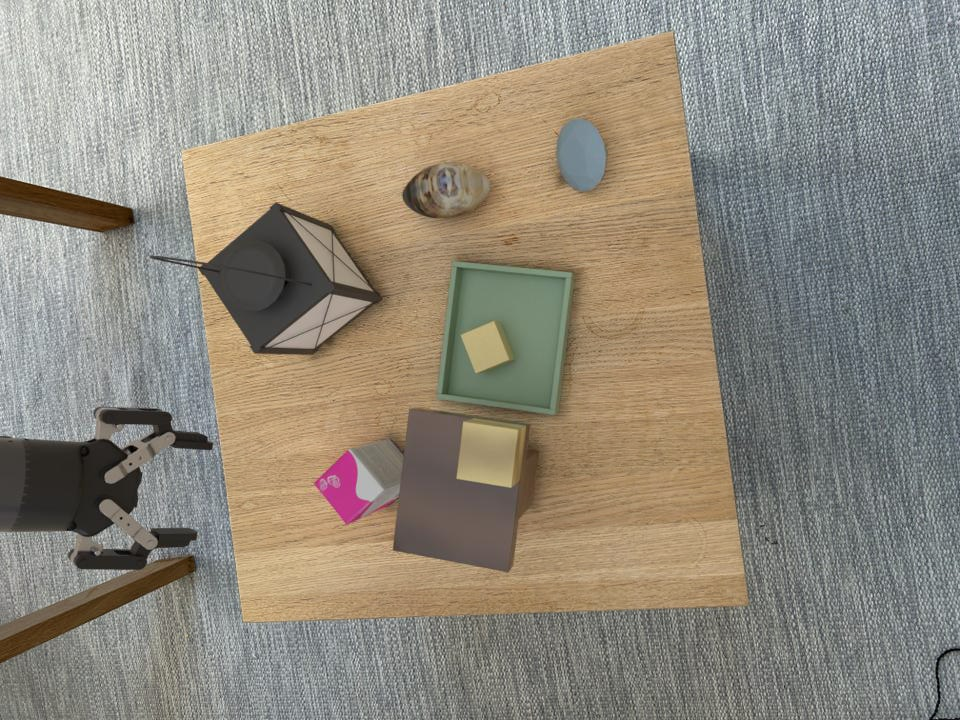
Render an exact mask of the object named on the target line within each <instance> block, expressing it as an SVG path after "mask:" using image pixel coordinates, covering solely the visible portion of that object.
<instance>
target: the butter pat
mask: <svg viewBox="0 0 960 720" xmlns="http://www.w3.org/2000/svg"><path fill="white" fill-rule="evenodd" d="M461 338H462V340H463V343H464V345H465V348H466V350H467V353H468V356H469V358H470V361H471V363H472V366H473V368H474V371H475V373H476V374H477V373H485V372H487V371H490V370H492V369H494V368H497V367H499V366H502V365H504V364H507V363H509V362H511V361H514V360H515V357H514V355H513V352H512V350H511V347H510V345H509V342H508V340H507V337H506V335H505V332H504V330H503V327H502V325H501V322H496V321H492V322H490V323H487V324H485V325H483V326H480V327H478V328H476V329H473V330H471V331H469V332H466V333H464V334H462V335H461Z"/></svg>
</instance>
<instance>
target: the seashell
mask: <svg viewBox="0 0 960 720" xmlns="http://www.w3.org/2000/svg"><path fill="white" fill-rule="evenodd" d="M490 191H491V182H490V180H489V178H488V177H487V176H486V175H485V173H483V172H482V171H481V170H479V169H478V168H475V167H473V166H471V165H469V164H464V163H459V162H440V163H436V164H433V165H430V166H427V167H426V168H424V169H421V171H419V172H418V173H416V174H415V175H413V177H412V178H411V179H410V180H409V181H408V182H407V184H406V185H405V187H404V188H403V190H402V194H401V195H402V196H401V198H402V200H403V203H404V204H405V205H406V206H407V207H408V208H409V209H411V210H412V211H413V212H415V213H416V214H418V215H420V216H423V217H427V218H431V219H452V218H456V217H459V216H463V215H465V214H468V213H470V212H471V211H473V210H475V209H476V208H478V207H479V206H480V205H481V204H482V203H483V202H484V201H485V200H486V199H487V197H488V195H489V193H490Z"/></svg>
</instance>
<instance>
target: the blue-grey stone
mask: <svg viewBox="0 0 960 720" xmlns="http://www.w3.org/2000/svg"><path fill="white" fill-rule="evenodd" d="M555 151H556V152H555V154H556V161H557V166H558V169H559V171H560V173H561V175H562V178H563V180H564V181H565V182H566V183H567V184H568V185H569V187H571V188H572V189H574V190H576V191H579V192H580V193H582V192H584V193H585V192H589V191H593V190H594V188H596V187H597V186H598V185H599V184H600V183H601V180H602V178H603V176H604V174H605V172H606V164H607V156H608V149H607V146H606V144H605V142H604V139H603V138H602V136H601V132H599V130H598V128H597V127H596V126H595V125H594V124H593V123H592V122H591V121H590V120H587V119H584V118H581V117H577V118H572V119H569V120H568V121H567V122H566V123H565V124H564V125H563V126H562V127H561V129H560V132H559V134H558V137H557V139H556V150H555Z"/></svg>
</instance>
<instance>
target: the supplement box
mask: <svg viewBox="0 0 960 720" xmlns="http://www.w3.org/2000/svg"><path fill="white" fill-rule="evenodd" d="M403 458H404V451H402V450H401V448H400V447H399V446H398V445H397V444H396V442H394V440H393V439H392V438H387V439H383V440H379V441H375V442H371V443H367V444H363V445H360V446H356V447H351V448H348V450H347V451H345V452H344V453H343V454H342V455H341V456H340V457H339V458H338V459H337V460H336V461H335V462H334V463H333V464H332V465H331V466H330V467H329V468H328V469H326V471H325V472H323V474H322V475H321V476H320V477H318V479H316V480H315V481H314V483H313V485H314V486H315V488H316V489H317V490H318V491H319V492H320V493H321V495H322V496H323V497H324V498H325V500H326V501H327V502H328V503H329V505H330V506H331V507H332V509H334V511H335V512H336V514H337V515H338V517H340V518H341V520H342V521H343V523H344V524H345V525H350V524H352V523H354V522H356V521H359V520H360V519H362V518H365V517H367V516H369V515H371V514H373V513H375V512H377V511H378V512H379V511H380V510H382V509H384V508H387V507H388V506H391V504H392V503H394V502H395V501H396V500H397V499H399V492H400V484H401V475H402V467H403Z"/></svg>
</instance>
